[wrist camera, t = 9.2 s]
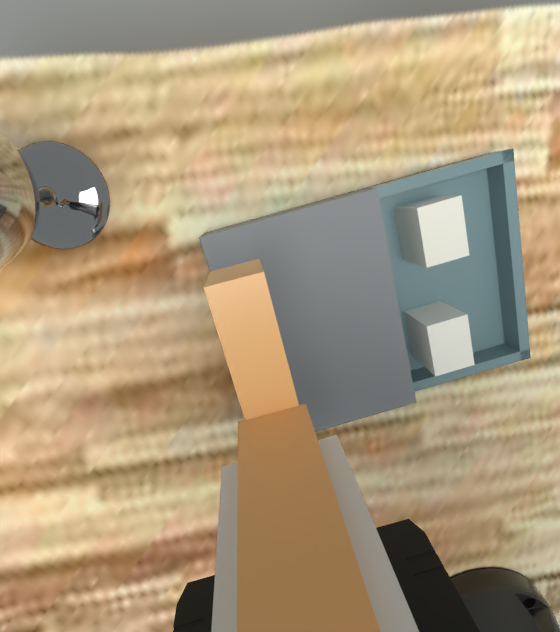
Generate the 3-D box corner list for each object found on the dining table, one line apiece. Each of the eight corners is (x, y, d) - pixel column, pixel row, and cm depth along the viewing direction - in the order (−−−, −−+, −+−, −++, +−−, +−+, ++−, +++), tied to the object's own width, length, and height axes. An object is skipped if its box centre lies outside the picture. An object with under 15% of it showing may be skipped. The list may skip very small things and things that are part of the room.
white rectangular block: (403, 259, 30) (440, 248, 30) (426, 267, 27) (469, 255, 27) (393, 207, 29) (432, 196, 29) (416, 208, 25) (461, 195, 25)
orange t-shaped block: (335, 530, 20) (446, 906, 9) (287, 543, 20) (342, 937, 9) (265, 257, 16) (319, 373, 5) (204, 273, 16) (129, 423, 5)
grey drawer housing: (396, 379, 34) (416, 402, 30) (263, 418, 34) (266, 445, 30) (359, 189, 29) (377, 187, 25) (204, 233, 29) (199, 237, 25)
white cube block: (412, 356, 33) (447, 345, 33) (435, 376, 29) (474, 364, 29) (404, 311, 32) (440, 300, 32) (426, 326, 28) (467, 314, 28)
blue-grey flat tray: (509, 346, 34) (530, 357, 32) (398, 378, 34) (410, 392, 31) (490, 152, 29) (513, 148, 27) (361, 188, 29) (372, 187, 27)
